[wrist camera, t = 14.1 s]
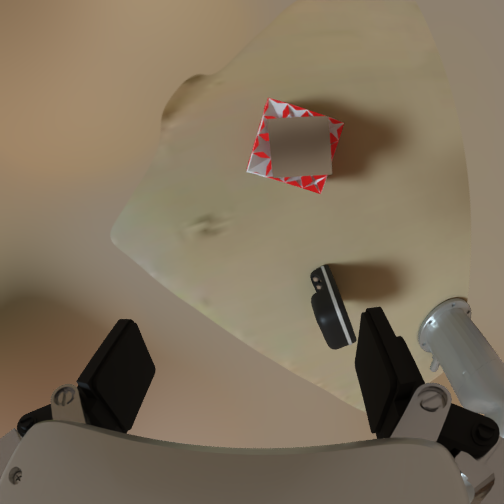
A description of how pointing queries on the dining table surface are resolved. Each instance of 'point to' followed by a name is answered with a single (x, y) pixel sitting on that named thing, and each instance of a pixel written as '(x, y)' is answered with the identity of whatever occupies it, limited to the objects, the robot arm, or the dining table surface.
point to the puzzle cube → (261, 148)
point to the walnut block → (300, 146)
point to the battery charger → (330, 310)
